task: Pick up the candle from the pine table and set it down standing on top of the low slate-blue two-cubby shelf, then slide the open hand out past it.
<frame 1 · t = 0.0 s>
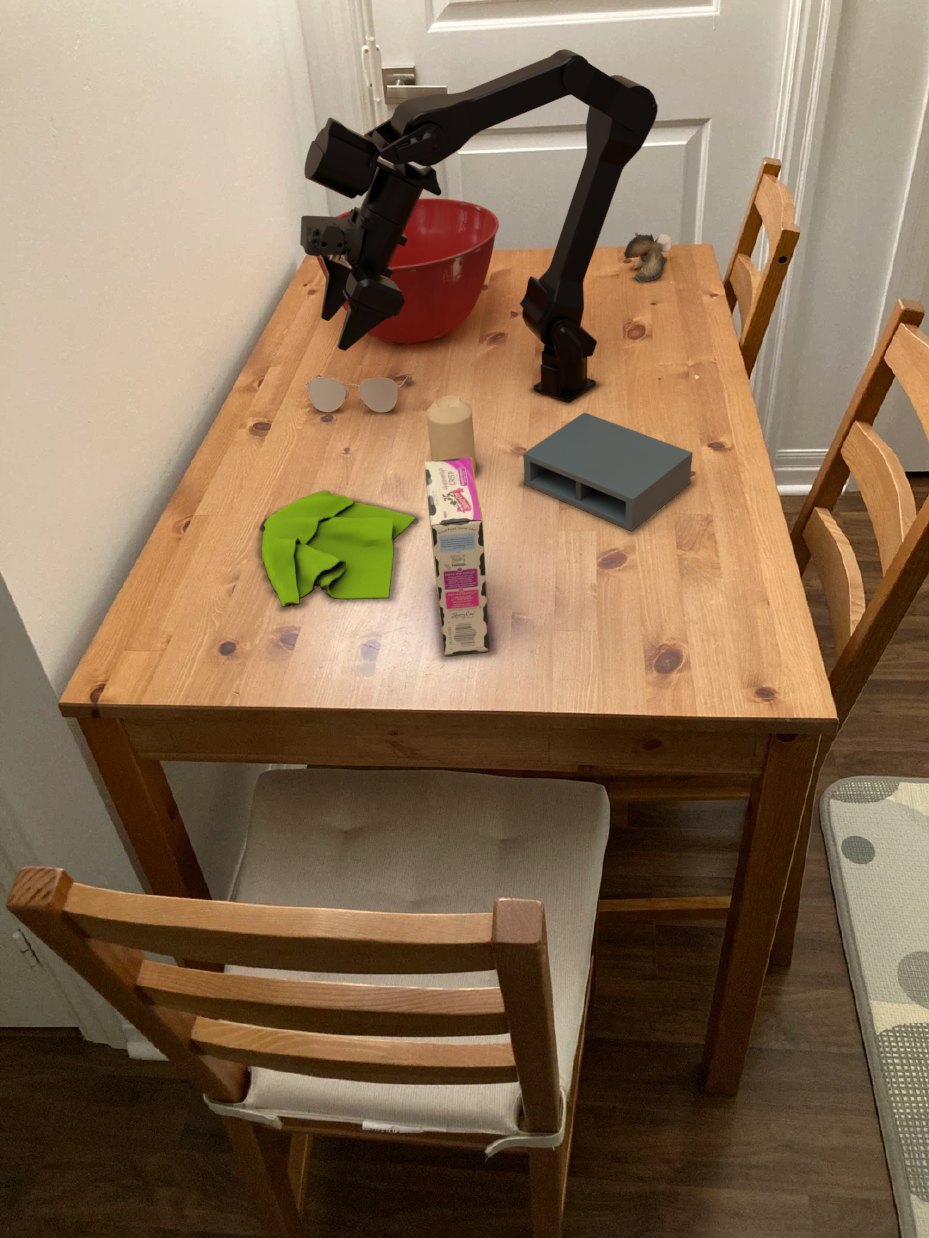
hand: (332, 334, 122), 15 cm above the table, tool tilted 35°, fingers open, 9 cm apart
mixing bowl: (414, 327, 156), on the table
candy bar box: (464, 620, 103), on the table
sunglasses: (361, 398, 140), on the table
shelf: (606, 484, 119), on the table
cloth: (331, 553, 113), on the table
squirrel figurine: (645, 271, 166), on the table
candle: (454, 472, 124), on the table
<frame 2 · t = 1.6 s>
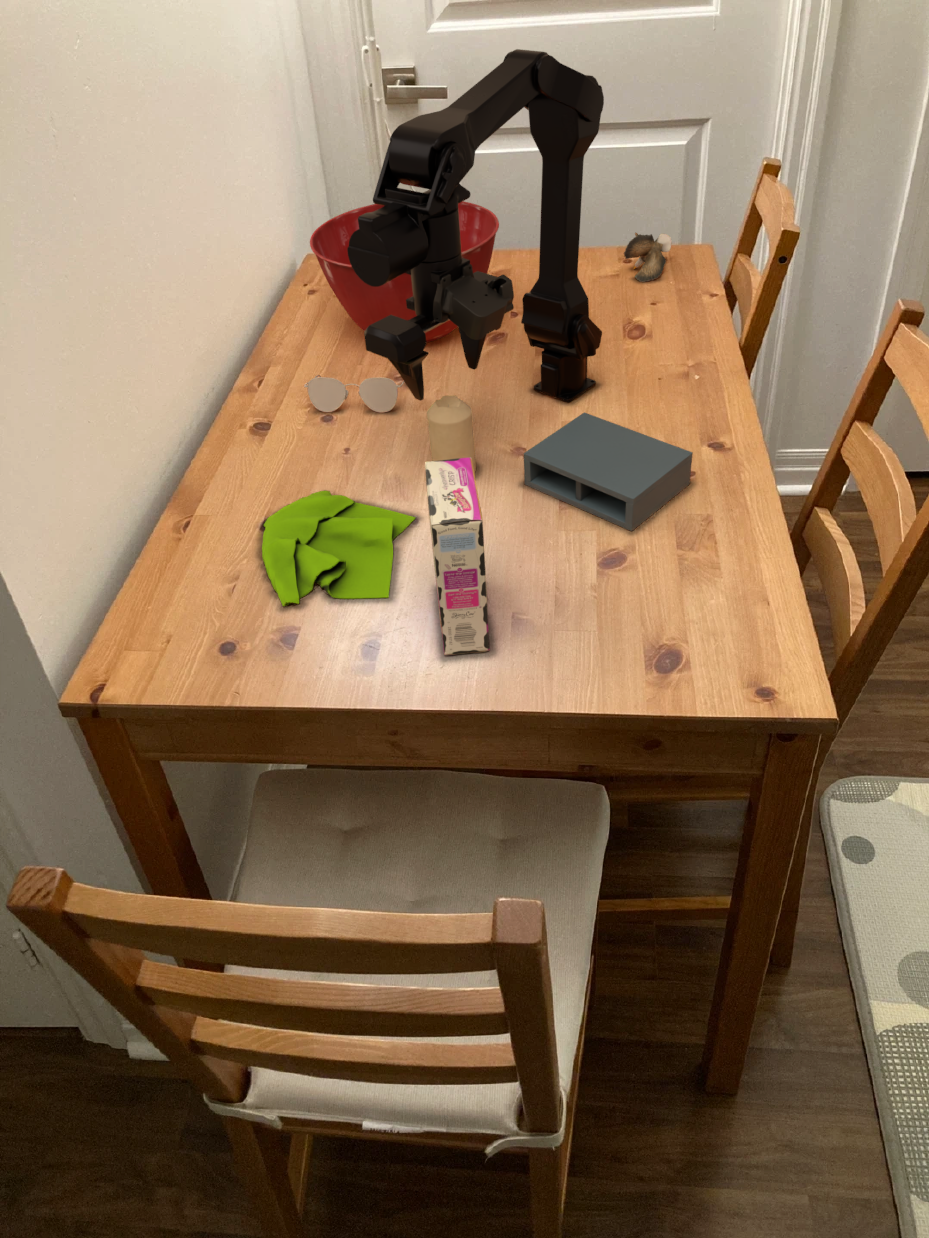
hand: (446, 383, 116), 12 cm above the table, tool pointing down, fingers open, 9 cm apart
nothing on the table moved.
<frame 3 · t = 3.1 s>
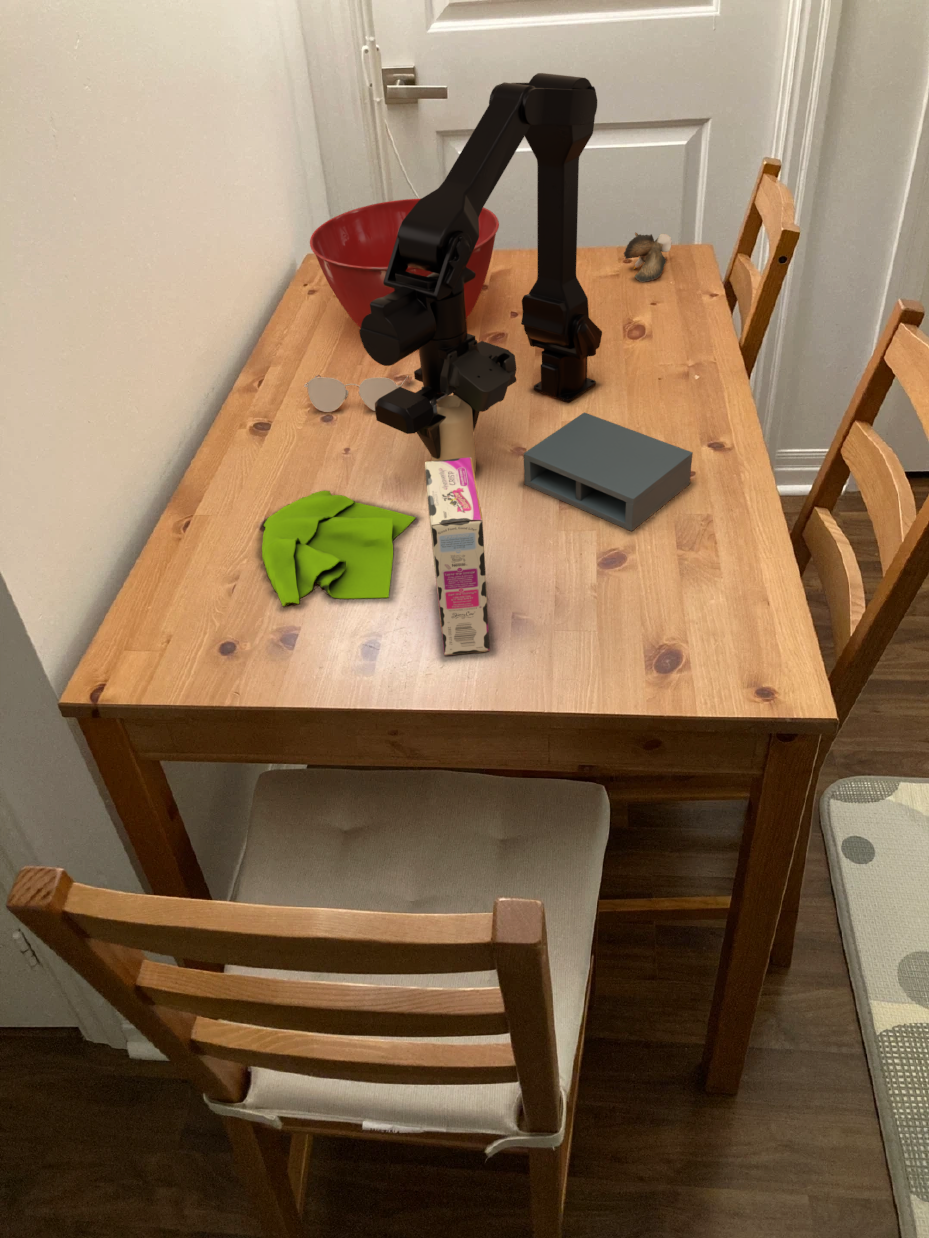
hand: (452, 447, 121), 4 cm above the table, tool pointing down, fingers closed on candle, 5 cm apart
candle: (454, 472, 124), on the table, touching gripper
everything else where it was.
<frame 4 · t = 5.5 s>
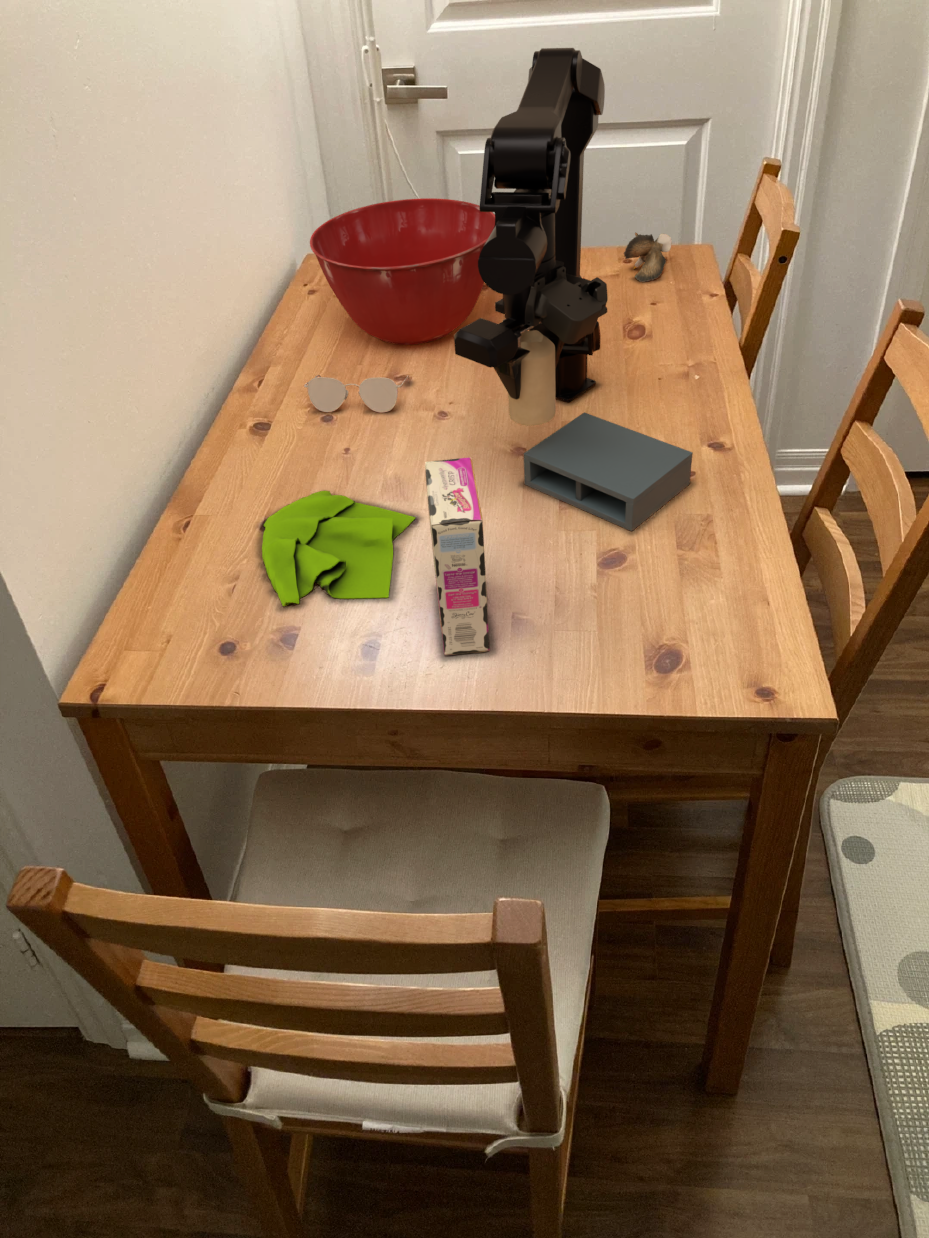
hand: (531, 388, 113), 12 cm above the table, tool pointing down, fingers closed on candle, 5 cm apart
candle: (532, 416, 116), point 9 cm above the table, touching gripper
everything else where it was.
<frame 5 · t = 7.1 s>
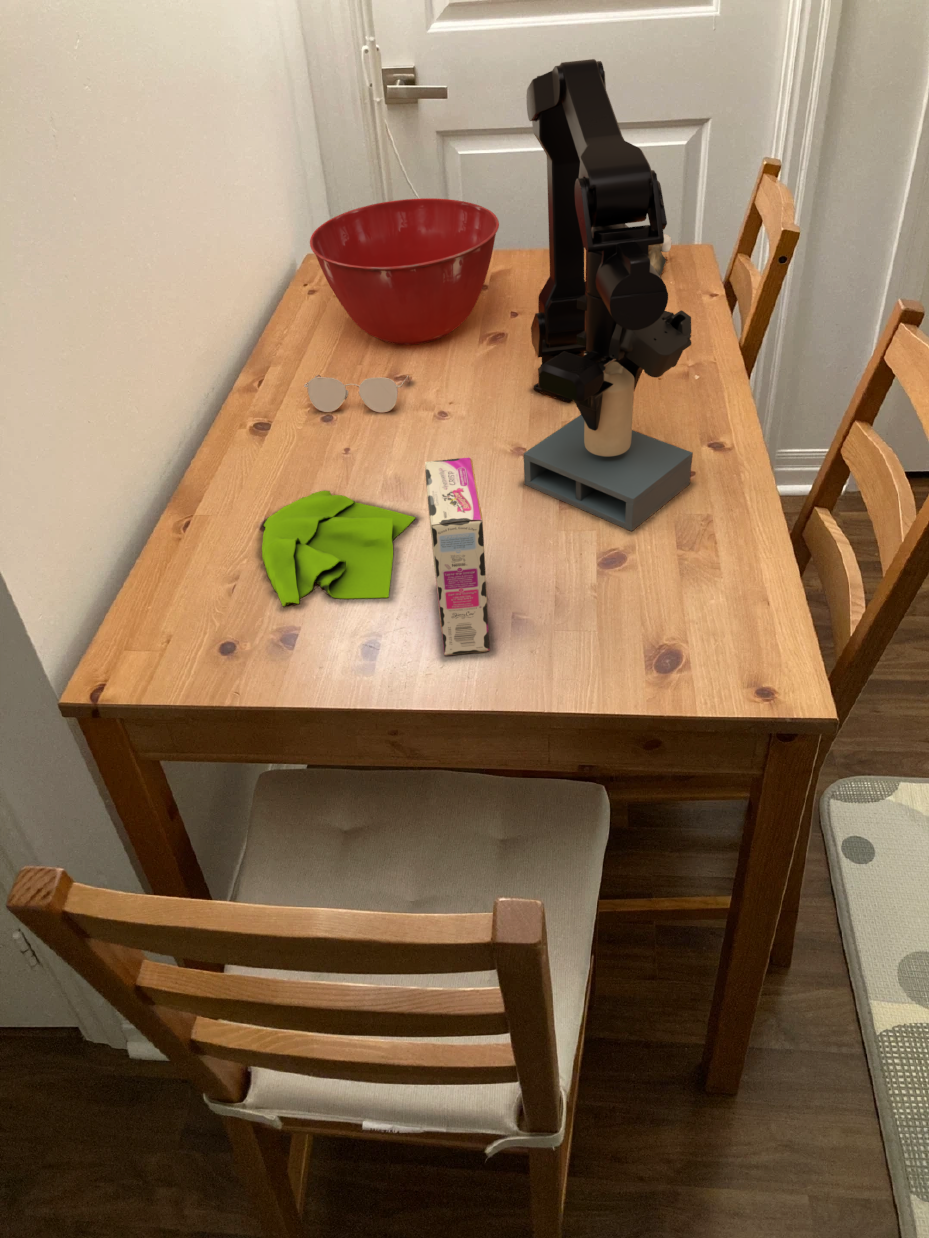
hand: (608, 418, 113), 9 cm above the table, tool pointing down, fingers closed on candle, 5 cm apart
candle: (607, 446, 116), point 5 cm above the table, touching gripper
everything else where it was.
when the fingers open (8 cm above the table, at t = 7.9 s): candle stays where it is, resting on shelf.
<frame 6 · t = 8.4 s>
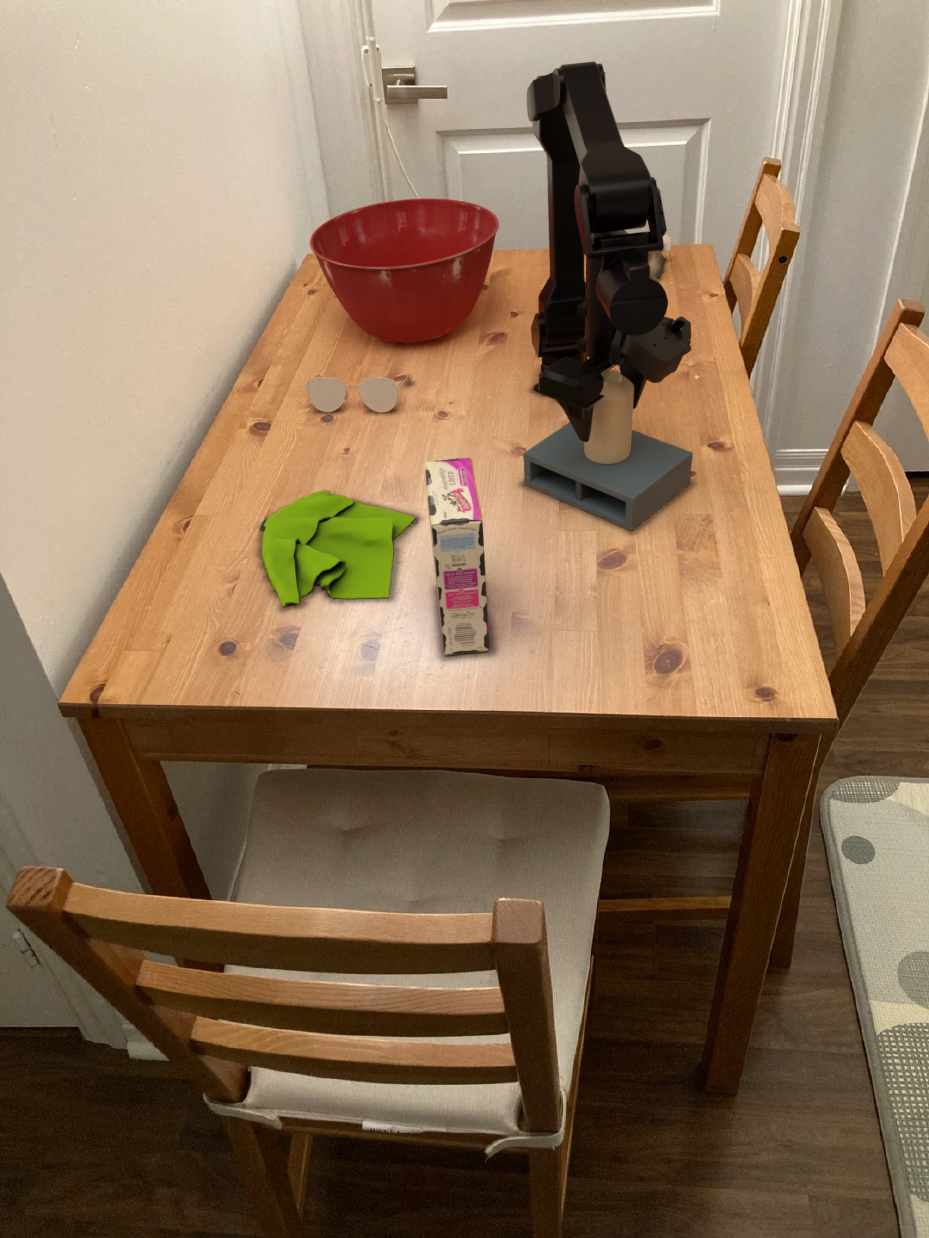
hand: (608, 424, 114), 8 cm above the table, tool pointing down, fingers open, 9 cm apart
candle: (607, 453, 116), point 4 cm above the table, touching shelf
everything else where it was.
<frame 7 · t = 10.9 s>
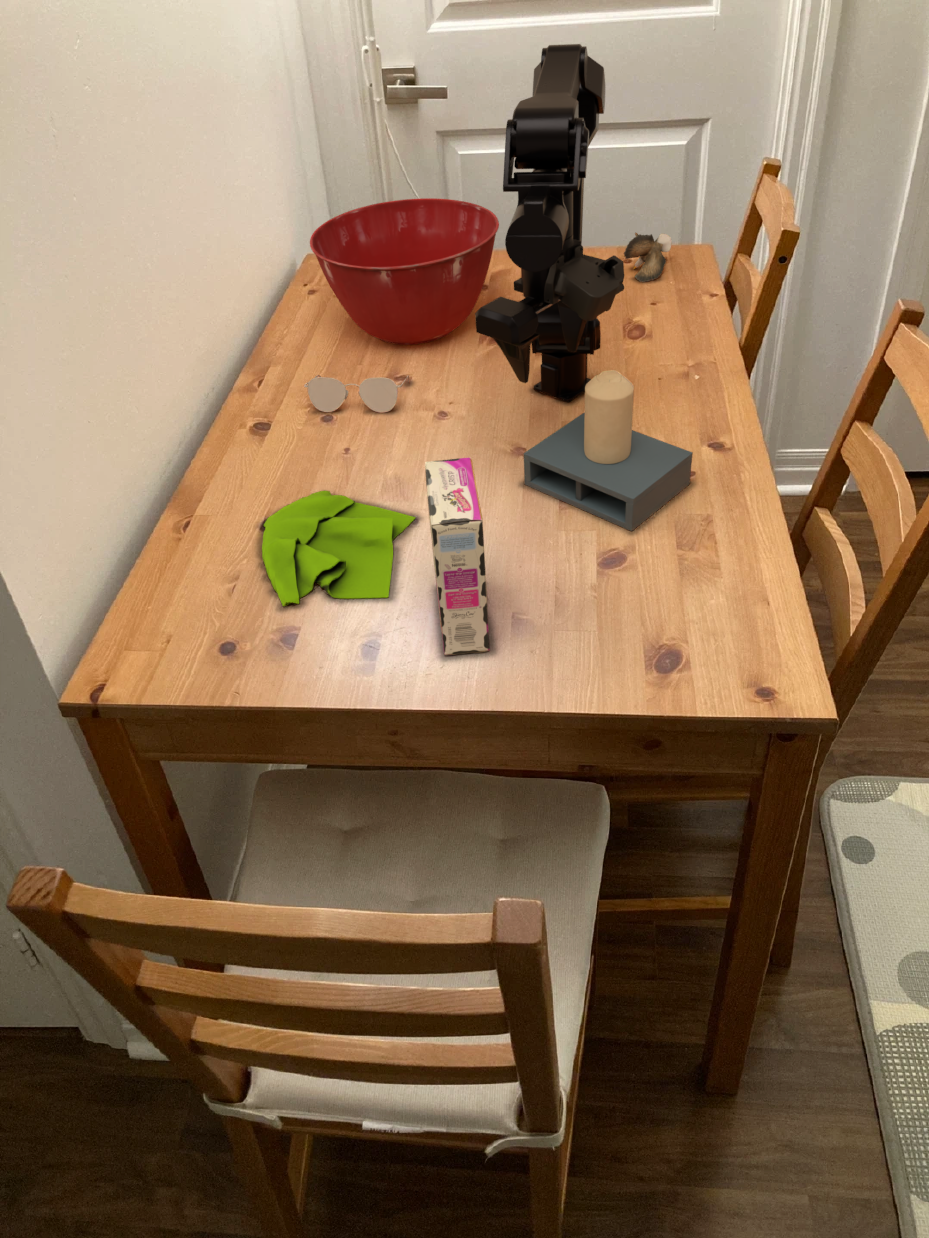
hand: (548, 366, 116), 13 cm above the table, tool pointing down, fingers open, 9 cm apart
nothing on the table moved.
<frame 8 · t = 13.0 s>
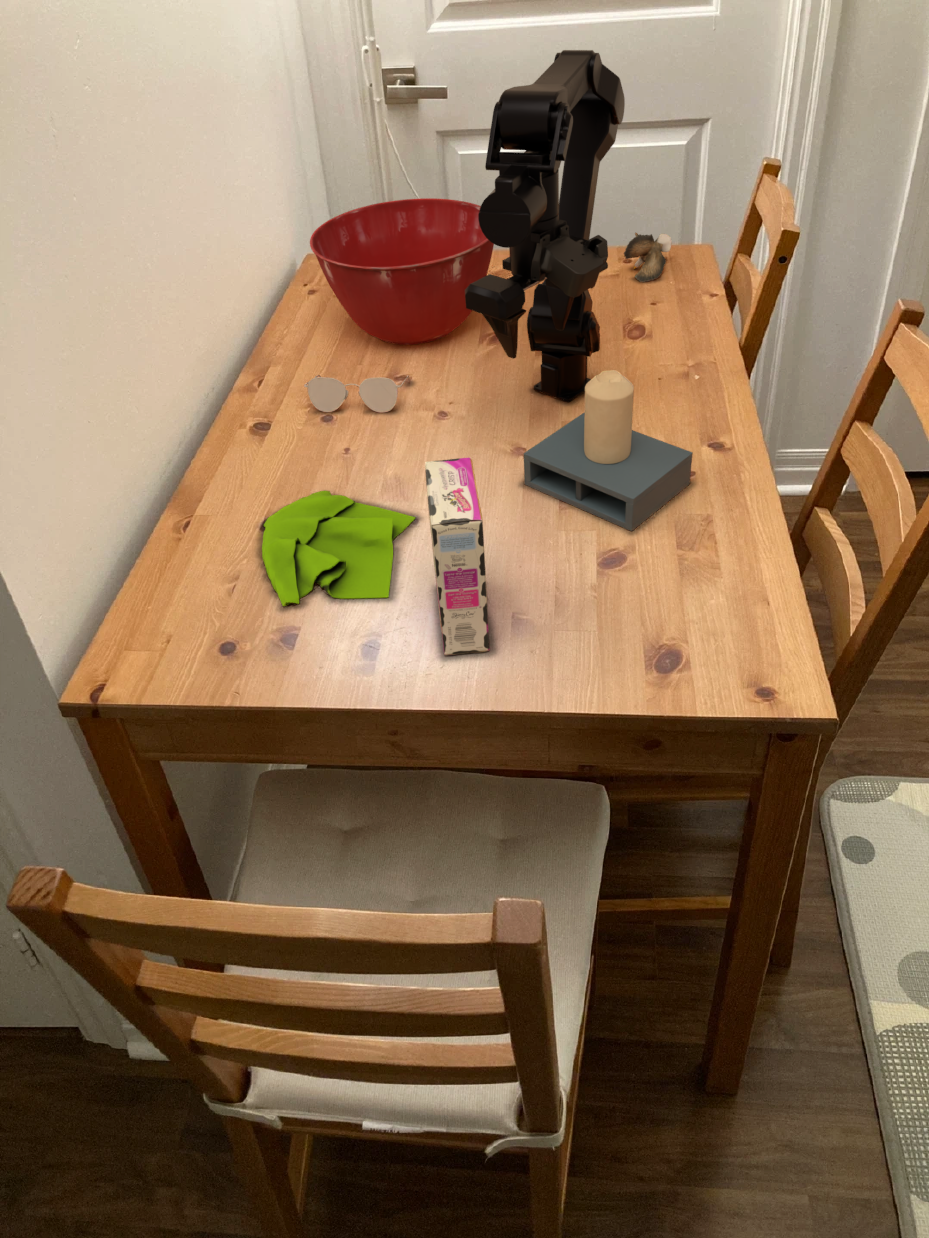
hand: (536, 343, 120), 13 cm above the table, tool pointing down, fingers open, 9 cm apart
nothing on the table moved.
at the end: candle inside the target area on the shelf (0.1 cm from its centre), point 4.3 cm above the shelf's base; candle tilted 0°; the gripper is holding nothing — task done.
